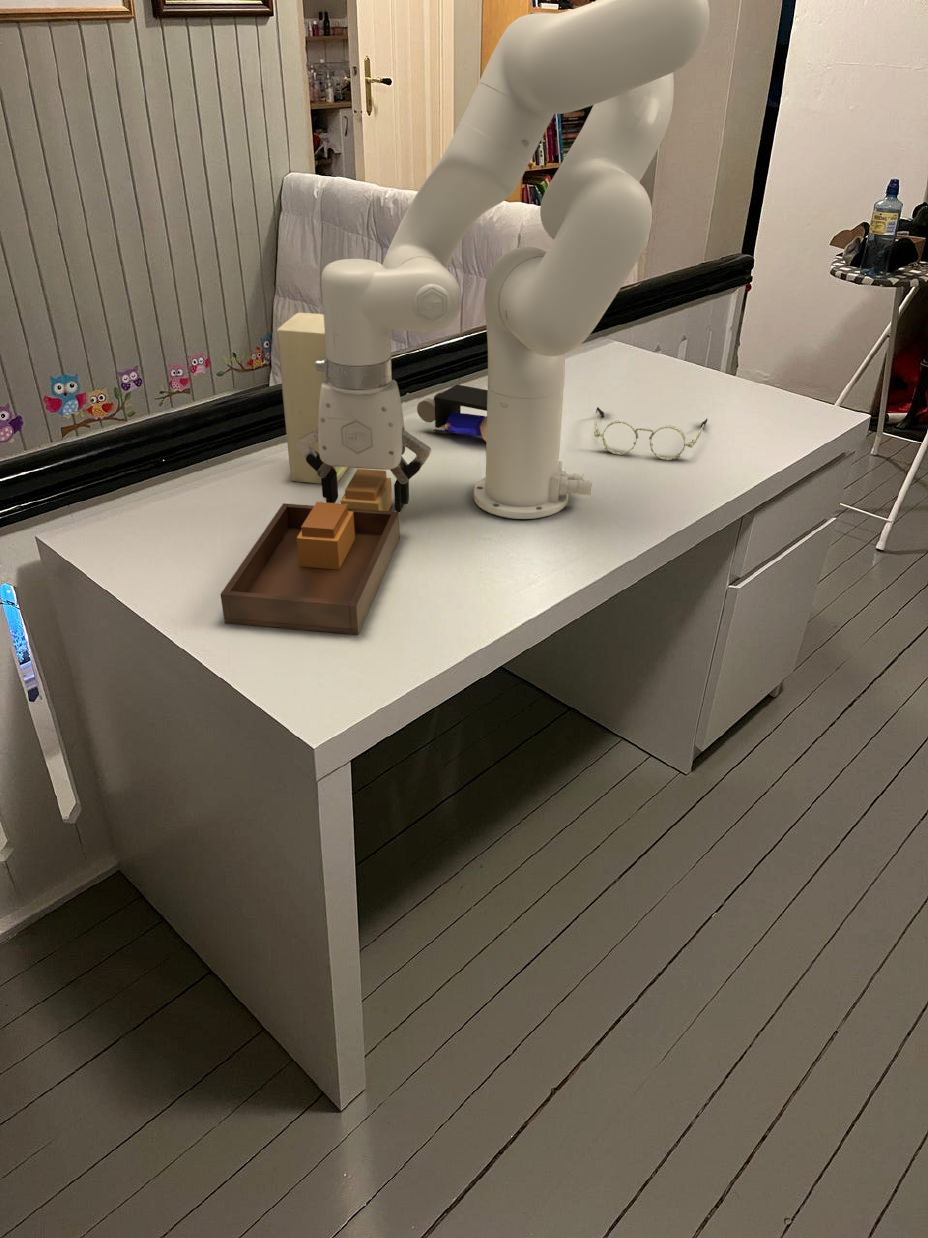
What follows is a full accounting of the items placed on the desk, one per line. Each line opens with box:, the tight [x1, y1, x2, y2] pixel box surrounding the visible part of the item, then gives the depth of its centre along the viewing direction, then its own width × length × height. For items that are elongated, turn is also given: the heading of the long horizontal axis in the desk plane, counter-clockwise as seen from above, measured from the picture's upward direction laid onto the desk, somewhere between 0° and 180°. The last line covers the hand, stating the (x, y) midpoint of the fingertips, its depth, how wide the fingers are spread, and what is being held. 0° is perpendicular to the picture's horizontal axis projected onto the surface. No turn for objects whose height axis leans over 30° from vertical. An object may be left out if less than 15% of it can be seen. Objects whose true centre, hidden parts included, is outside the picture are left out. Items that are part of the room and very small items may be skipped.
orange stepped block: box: [297, 501, 355, 570], centre depth 111 cm, size 5×8×5 cm, turn 172°
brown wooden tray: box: [219, 502, 401, 635], centre depth 108 cm, size 15×22×4 cm
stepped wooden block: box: [340, 468, 393, 511], centre depth 120 cm, size 5×8×5 cm, turn 172°
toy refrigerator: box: [276, 312, 349, 485], centre depth 127 cm, size 8×7×21 cm
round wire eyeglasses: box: [593, 406, 708, 461], centre depth 142 cm, size 17×15×5 cm
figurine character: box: [416, 384, 488, 442], centre depth 142 cm, size 7×8×15 cm
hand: (366, 504), depth 121 cm, fingers open, 8 cm apart
